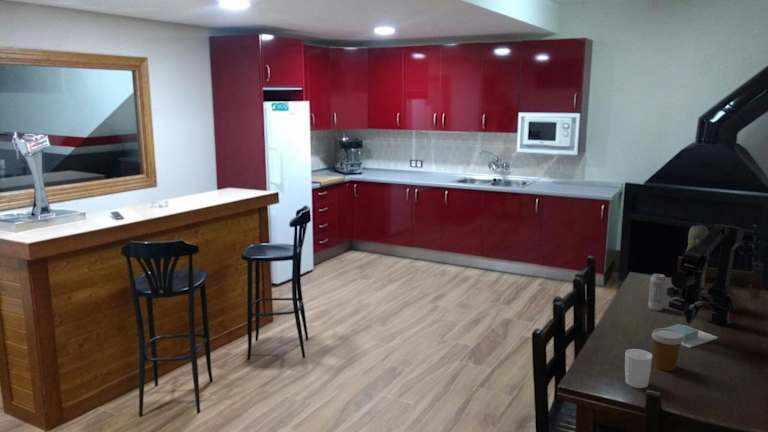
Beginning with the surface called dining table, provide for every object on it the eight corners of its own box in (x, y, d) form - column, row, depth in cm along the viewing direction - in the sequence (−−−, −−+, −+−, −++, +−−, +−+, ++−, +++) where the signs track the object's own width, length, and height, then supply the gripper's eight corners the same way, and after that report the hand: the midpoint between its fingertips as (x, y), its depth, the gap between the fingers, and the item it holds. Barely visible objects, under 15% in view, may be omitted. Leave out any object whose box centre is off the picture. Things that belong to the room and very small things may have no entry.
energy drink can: (666, 309, 247) (669, 275, 244) (658, 312, 244) (661, 278, 241) (653, 305, 252) (655, 272, 249) (645, 308, 248) (647, 275, 246)
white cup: (618, 378, 187) (620, 349, 185) (641, 376, 187) (644, 348, 185) (630, 390, 179) (633, 360, 177) (655, 388, 180) (657, 358, 178)
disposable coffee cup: (644, 360, 199) (647, 327, 197) (672, 360, 199) (675, 327, 196) (656, 373, 190) (659, 339, 187) (685, 373, 189) (689, 339, 187)
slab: (678, 323, 222) (663, 328, 217) (698, 330, 215) (683, 335, 211) (678, 331, 222) (663, 335, 218) (697, 338, 215) (682, 343, 211)
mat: (682, 326, 228) (683, 324, 228) (717, 338, 216) (717, 336, 216) (655, 334, 220) (655, 333, 220) (689, 348, 208) (689, 346, 208)
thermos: (702, 301, 256) (710, 224, 250) (704, 309, 246) (712, 229, 239) (680, 298, 260) (687, 222, 254) (680, 306, 250) (688, 228, 243)
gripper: (688, 274, 226) (684, 312, 229) (657, 282, 217) (654, 321, 220) (716, 282, 217) (711, 321, 220) (684, 290, 208) (681, 330, 211)
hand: (688, 323), depth 218 cm, fingers closed
